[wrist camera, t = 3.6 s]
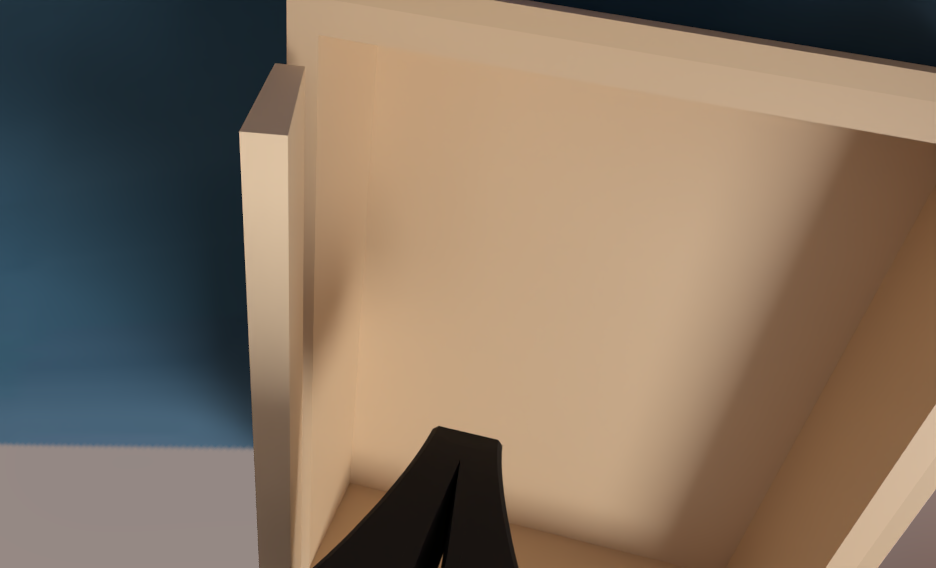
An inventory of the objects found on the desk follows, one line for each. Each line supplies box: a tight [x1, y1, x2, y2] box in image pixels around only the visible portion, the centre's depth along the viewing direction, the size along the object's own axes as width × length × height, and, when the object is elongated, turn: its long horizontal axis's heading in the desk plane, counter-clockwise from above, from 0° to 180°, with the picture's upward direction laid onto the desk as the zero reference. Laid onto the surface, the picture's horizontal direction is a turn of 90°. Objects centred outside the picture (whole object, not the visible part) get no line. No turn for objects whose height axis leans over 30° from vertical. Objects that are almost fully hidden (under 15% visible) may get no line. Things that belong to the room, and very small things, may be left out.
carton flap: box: [239, 63, 305, 568], centre depth 11 cm, size 4×14×1 cm
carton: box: [287, 0, 936, 568], centre depth 15 cm, size 14×17×4 cm
